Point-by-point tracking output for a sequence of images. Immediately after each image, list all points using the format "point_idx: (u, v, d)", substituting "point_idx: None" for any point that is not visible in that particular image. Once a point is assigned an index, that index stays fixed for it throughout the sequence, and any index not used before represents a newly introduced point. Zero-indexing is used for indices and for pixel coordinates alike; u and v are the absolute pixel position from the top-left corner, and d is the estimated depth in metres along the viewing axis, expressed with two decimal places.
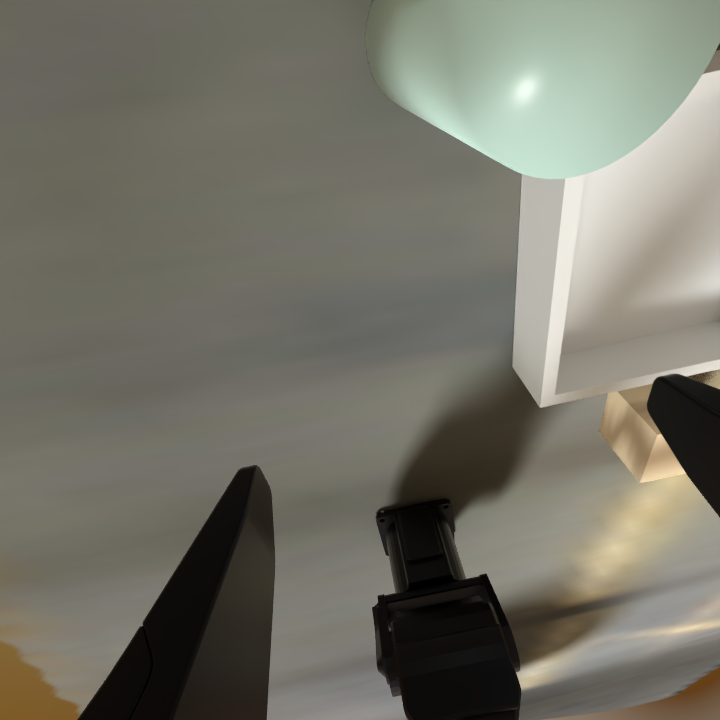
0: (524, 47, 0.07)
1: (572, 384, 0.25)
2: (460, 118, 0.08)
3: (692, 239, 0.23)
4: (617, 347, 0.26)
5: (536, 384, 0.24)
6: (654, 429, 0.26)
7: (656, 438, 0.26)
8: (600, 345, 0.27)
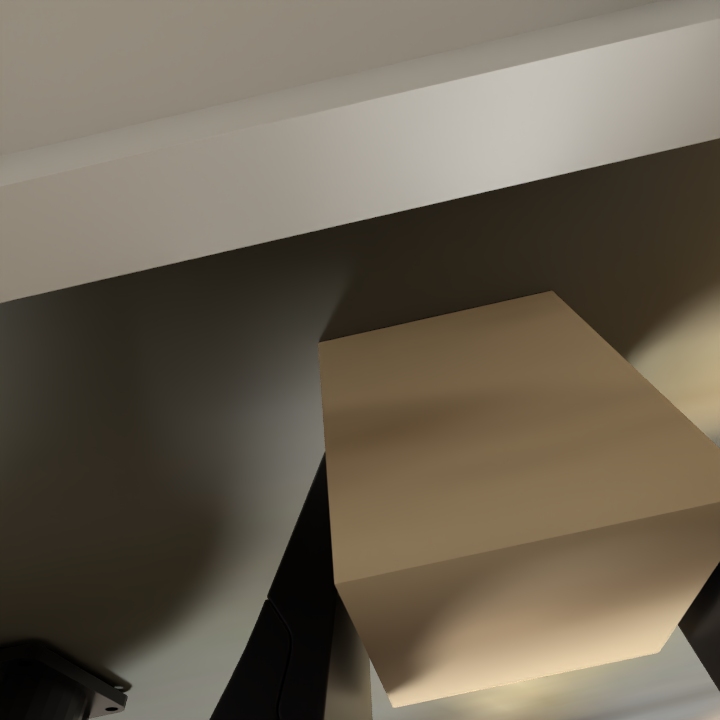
0: None
1: None
2: None
3: None
4: (143, 124, 0.05)
5: None
6: (337, 549, 0.05)
7: (339, 594, 0.05)
8: (77, 123, 0.05)
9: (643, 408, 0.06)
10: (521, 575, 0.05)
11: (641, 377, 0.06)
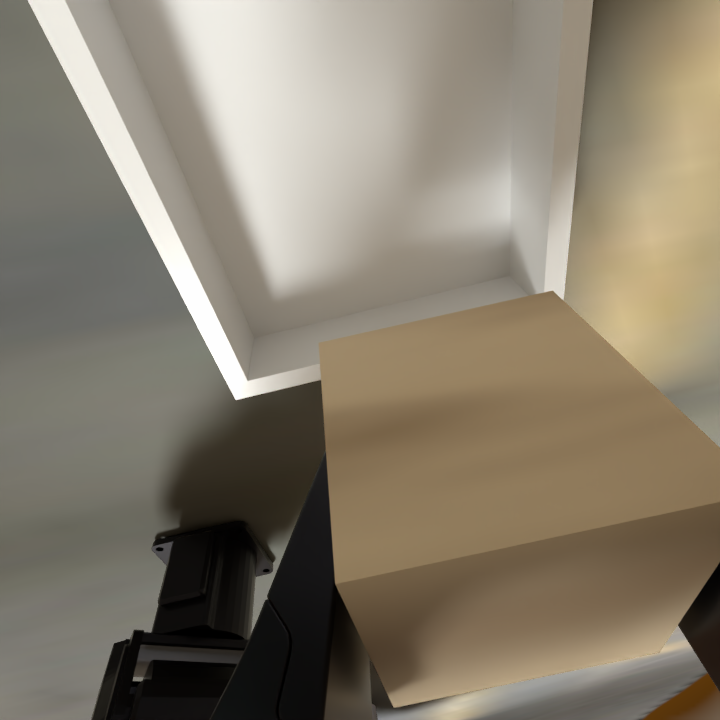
0: None
1: (279, 365, 0.17)
2: None
3: (420, 146, 0.15)
4: (368, 314, 0.19)
5: None
6: (337, 550, 0.05)
7: (341, 594, 0.05)
8: (347, 312, 0.19)
9: (643, 408, 0.06)
10: (521, 575, 0.05)
11: (642, 377, 0.06)
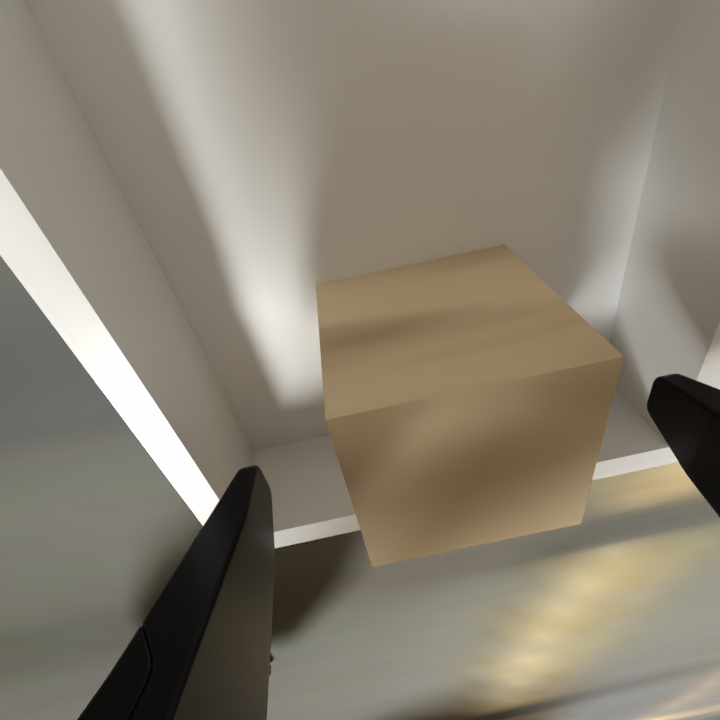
0: None
1: (290, 512, 0.12)
2: None
3: (507, 215, 0.10)
4: None
5: None
6: (327, 402, 0.07)
7: (329, 432, 0.07)
8: None
9: (555, 315, 0.08)
10: (458, 423, 0.07)
11: (558, 296, 0.09)
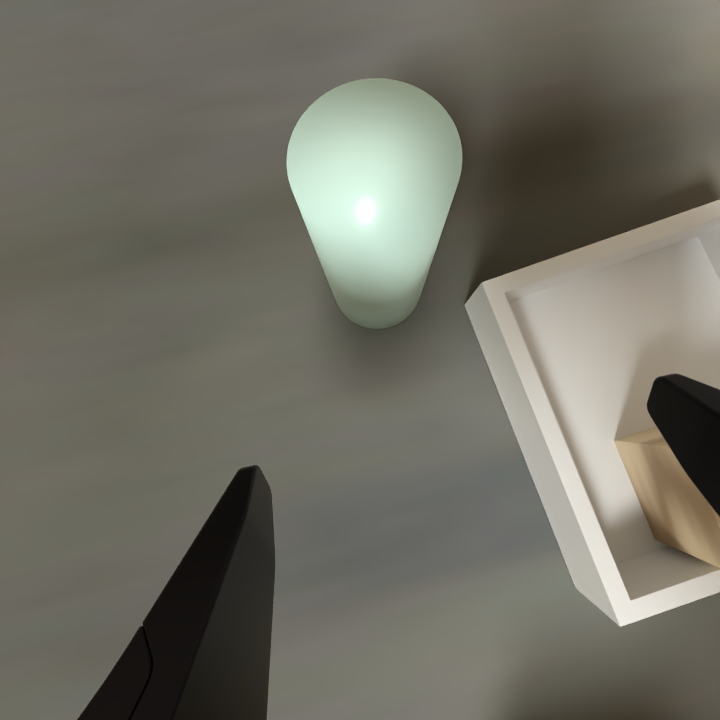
0: (332, 174, 0.12)
1: (651, 585, 0.18)
2: (312, 224, 0.12)
3: None
4: None
5: (599, 588, 0.18)
6: None
7: None
8: None
9: None
10: None
11: None
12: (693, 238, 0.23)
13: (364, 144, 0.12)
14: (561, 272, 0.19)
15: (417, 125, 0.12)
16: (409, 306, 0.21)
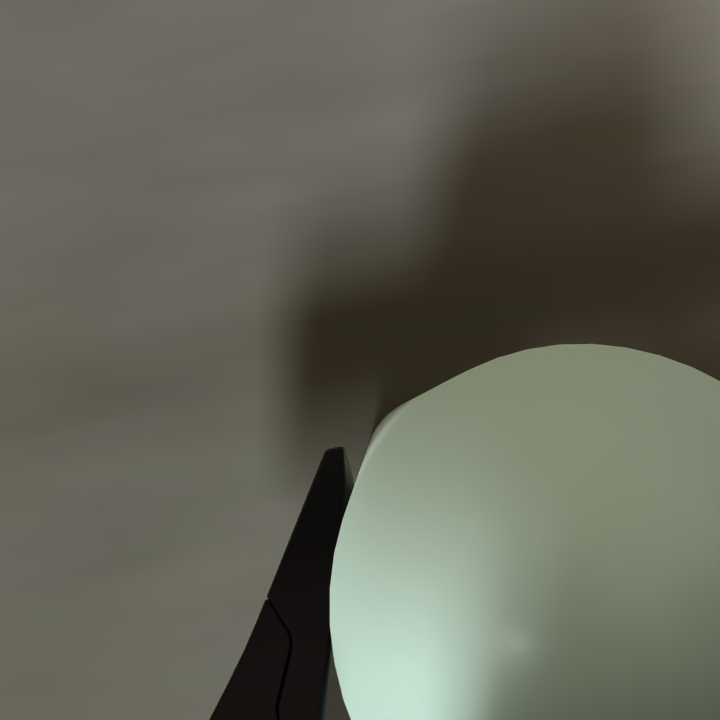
0: (471, 659, 0.04)
1: None
2: None
3: None
4: None
5: None
6: None
7: None
8: None
9: None
10: None
11: None
12: None
13: (564, 560, 0.04)
14: None
15: None
16: None
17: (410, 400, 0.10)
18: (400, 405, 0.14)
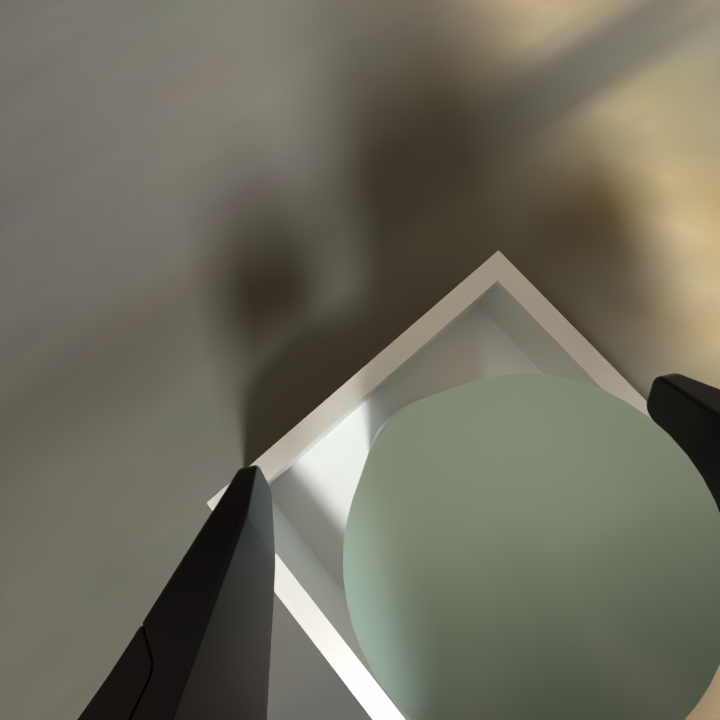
0: (443, 599, 0.06)
1: None
2: None
3: None
4: None
5: None
6: None
7: None
8: None
9: None
10: None
11: None
12: (473, 308, 0.18)
13: (510, 529, 0.06)
14: (302, 450, 0.15)
15: (626, 489, 0.06)
16: None
17: (407, 406, 0.11)
18: (400, 408, 0.15)
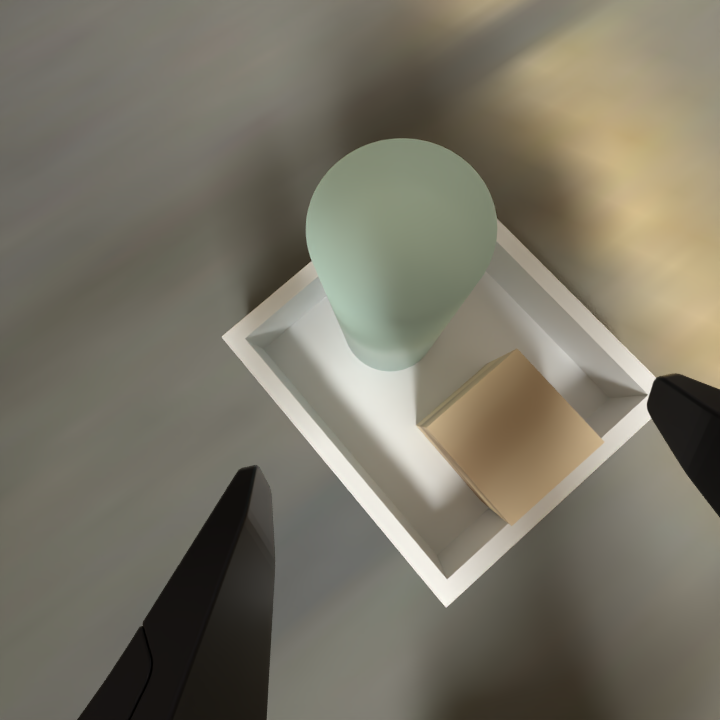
0: (355, 243, 0.11)
1: (467, 555, 0.19)
2: (333, 296, 0.11)
3: (478, 352, 0.22)
4: None
5: None
6: (426, 426, 0.18)
7: (431, 433, 0.17)
8: None
9: (499, 359, 0.19)
10: (479, 406, 0.17)
11: (501, 356, 0.19)
12: None
13: (389, 210, 0.11)
14: (290, 299, 0.20)
15: (447, 190, 0.11)
16: (425, 352, 0.20)
17: None
18: None
